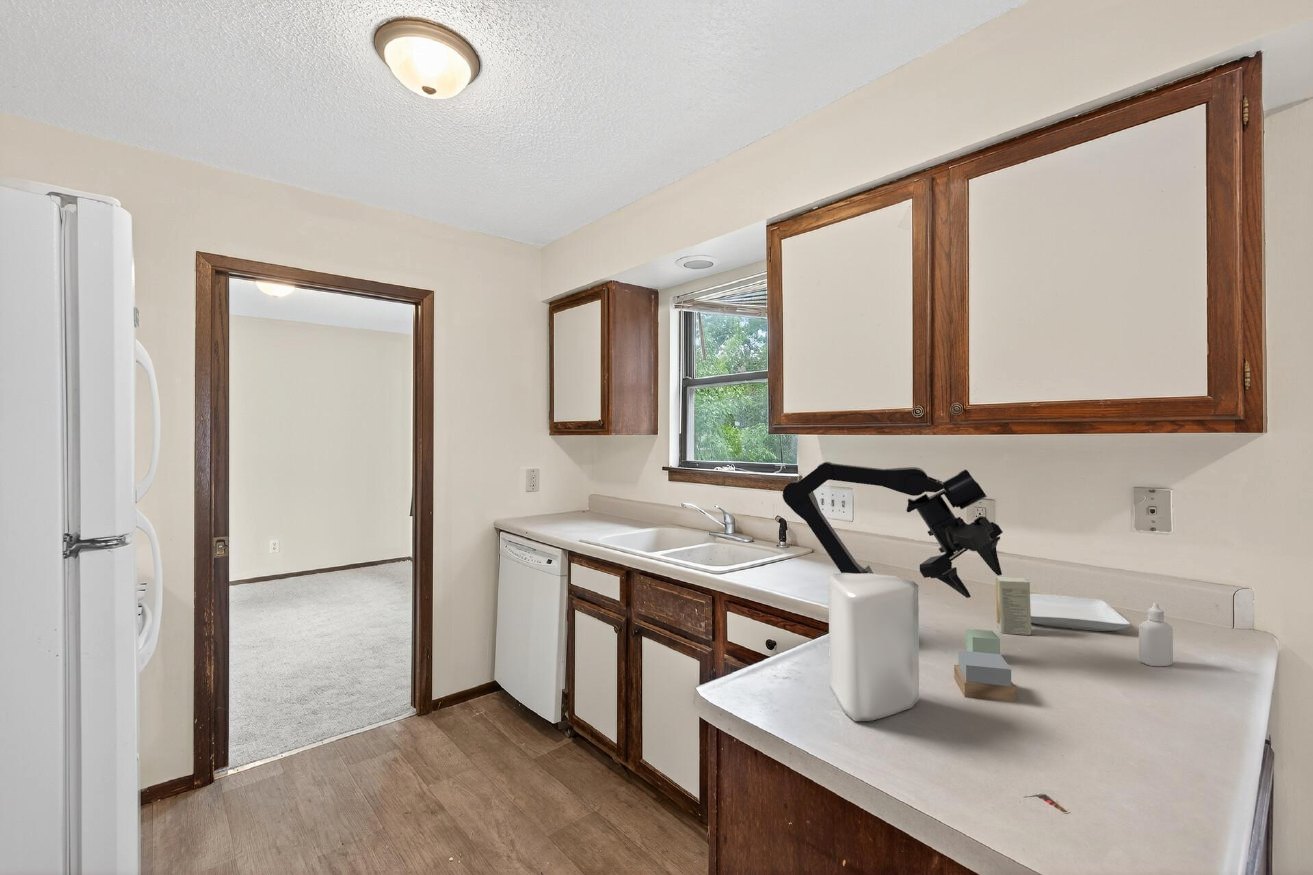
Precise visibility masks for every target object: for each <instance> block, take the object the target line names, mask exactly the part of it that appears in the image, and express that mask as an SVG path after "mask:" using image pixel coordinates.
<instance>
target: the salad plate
mask: <svg viewBox="0 0 1313 875" xmlns="http://www.w3.org/2000/svg"><path fill="white" fill-rule="evenodd" d="M1030 610H1031V624H1036V625H1041V626H1045V627H1056V628H1066V629H1073V630H1074V629H1076V630H1084V631H1085V630H1086V631H1095V632H1096V631H1099V632H1109V631H1120V630H1123V629H1124V630H1125V629H1127V628H1129V627H1130V626H1131V622H1129V621H1128V620H1127V619H1126V618H1124V616H1122V615H1121V614H1120V613H1119V612H1117V611H1116V610H1115V609H1114V608H1112V607H1111V606H1110V605H1109V604H1108V603H1107V602H1105V601H1104V600H1102V599H1100V598H1099V599H1097V598H1086V597H1079V596H1077V597H1076V596H1068V595H1058V594H1042V593H1030Z"/></svg>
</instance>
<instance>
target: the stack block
mask: <svg viewBox="0 0 1313 875" xmlns="http://www.w3.org/2000/svg"><path fill="white" fill-rule="evenodd" d="M965 651H969V652H980V653H991V654H1001V638H1000V637H999V635H997V634H996V632H994V630H992V629H972V628H966V629H965Z"/></svg>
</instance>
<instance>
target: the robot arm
mask: <svg viewBox="0 0 1313 875" xmlns="http://www.w3.org/2000/svg"><path fill="white" fill-rule="evenodd" d="M827 481H838V482H845V483H853V484H854V483H855V484H862V485H863V484H864V485H870V486H879V487H883V488H887V489H890V490H892V491H895V492H899V493H902V494H905V495H909V496H914V497H917V496H919V497H918V498H915V499H912V498H908V499H907V506H906V509H905V510H906V513H911V512H912V511H915V510H916V511H917V512H918V514H919V515H920V517H921V518H922V520H923V522H924V523H925V525H926V526H927V527H928V529H929V530H927V534H928V535H929V537H931V536H932V537H933V536H934V538H935V539H936V542H937V543H938V544H939V545H940V547H939V548H938V551H940V553H944V554H940V555H935V556H930V557H929V558H927V559H926V560H924V561H923V562H922V563H919V572H920V574H921V575H922V576H923V578H924V579H927V578H931V579H937V580H939V581H941V582H943V583H945V584H946V585H948V586H949V587H951V588H952V589H953V590H955V591H956V592H958V593H959V594H961V595H962V596H963V597H965V598H967V599H968V598H971V594H970V592H969V590H968V589H967V587H966V586H965V584H964V583H963V580H961V578H960V577H959V575H958V571H957V570H958V569H957V567H953V562H952V561H954V560H956V559H957V558H958V557H960V556H961V555H962V554H964V553H965V552H967V551H968V550H969V551H971V552H977V554H978V555H979V556H980V558H982V560H983V562H985V564H987V566H988V567H989V568H990V570H992V572H993V573H994V574H995V575H996V576H997V577H1000V576H1002V575H1003V573H1002V569H1001V565H1000V562H999V556H998V552H997V551H998V550H997V545H998V542H999V541H1000V540H1001V536H1000V535H1002V533H1004V531H1003V530H1002V529H1001V527H1000V525H999V524H997V523H995V522H993V521H989V519H988V518H987V517H986V516H978V517H976V519H974V521H971V523H967V522H965V520H964V518H961V516H958V517H956V516H955V514H954V513H953V512H952V510H951V508H950V507H949V505H951V507H952V508H953V509H955V508H960V510H964V509H965V508H967V507H970V506H972V505H974V504H975V503H977V502H979V501H981V500H983V499H986V498H987V497H988V496H987V494H986V493H985V492H984V490H983V488H982V487H981V485H980V484H979V483H978V482H977V480H976V479H974V478H973V477H972V475H971V474H970V472H969V470H967V468H966V469H964V470H961V471H959V472H958V473H957V474H956V475H954V476H952V477H950V478H948V479H947V480H945V481H942V480H940V479H939V478H938V479H936V478H933V477H932V476H931V477H930V476H928V474H927V472H926V471H925V470H923V469H922V468H920V467H917V466H907V467H894V468H878V467H868V466H860V465H850V464H841V463H835V462H830V461H824V462H822V463H820V464H818V466H817V467H816V468H815V469H814V470H812V471H811V472H810V473H808V474H807V475H806V476H804V477H803V478H802V479H797V480H794V481H792V482H790V483H788V484H787V485H785V486H784V489H783V490H782V499H783V502H784V503H785V504H786V505H787V506H788V507H789V508H790V510H791V511H793V513H795V514H796V515H797V516H798V517H800V518H801V519H803V520H804V522H805V523H806V524H807V526H808V527H809V528H810V530H811V531H812V533H813V535H815V537H816V538H817V540H818V541H819V543H820V544H821V546H822V547H823V549H825V552H826V554H828V556H829V557H830V559H831V561H832V562H833V563H834V564H835V566H836V567H837V569H838V570H839V573H854V574H862V573H871V574H874V572H873V570H872V568H871V566H870V565H867V566H866V567H865V568H864V567H863V566H861V565H860V564H859V563H858V562H857V561H856V560H855V558H854V557H853V555H852V553H850V551H849V549H848V547H847V546H846V545H845V544H844V542H843V540H842V539H841V538H840V537H839V535H838V534H837V533H836V531H835V529H834V528H833V527H832V525H831V524H830V522H829V521H828V519H827V518H826V517H825V515H824V514H823V513H822V510H821V508H820V505H819V502H818V500H817V497H816V495H815V492H814V491H815V490H817V489H819V487H821V486H822V485H823V484H824V483H826V482H827ZM927 493H935V494H933V495H930V496H929V495H928V494H927ZM943 496H945V498H946V499H947V501H948V503H949V505H948V504H947V502H946V500H945V499H944V498H943Z"/></svg>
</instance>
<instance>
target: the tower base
mask: <svg viewBox="0 0 1313 875" xmlns="http://www.w3.org/2000/svg"><path fill="white" fill-rule="evenodd" d="M953 677H954V678H953V679H954V680H955V682H956V684H957V686H958V688H959V690H960V692H961V693H962V695H963V697H964V698H967V699H978V700H979V699H980V700H988V701H989V700H990V701H1000V702H1010V703H1016V702H1017V696H1016V695H1017V686H1015V684H1014V683H1013V681H1011V687H1009V686H999V685H990V684H980V683H971V682H966V681H965V679H964V677H963V675H962V673H961V671H960V669H959V667H958V664H954V665H953Z"/></svg>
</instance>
